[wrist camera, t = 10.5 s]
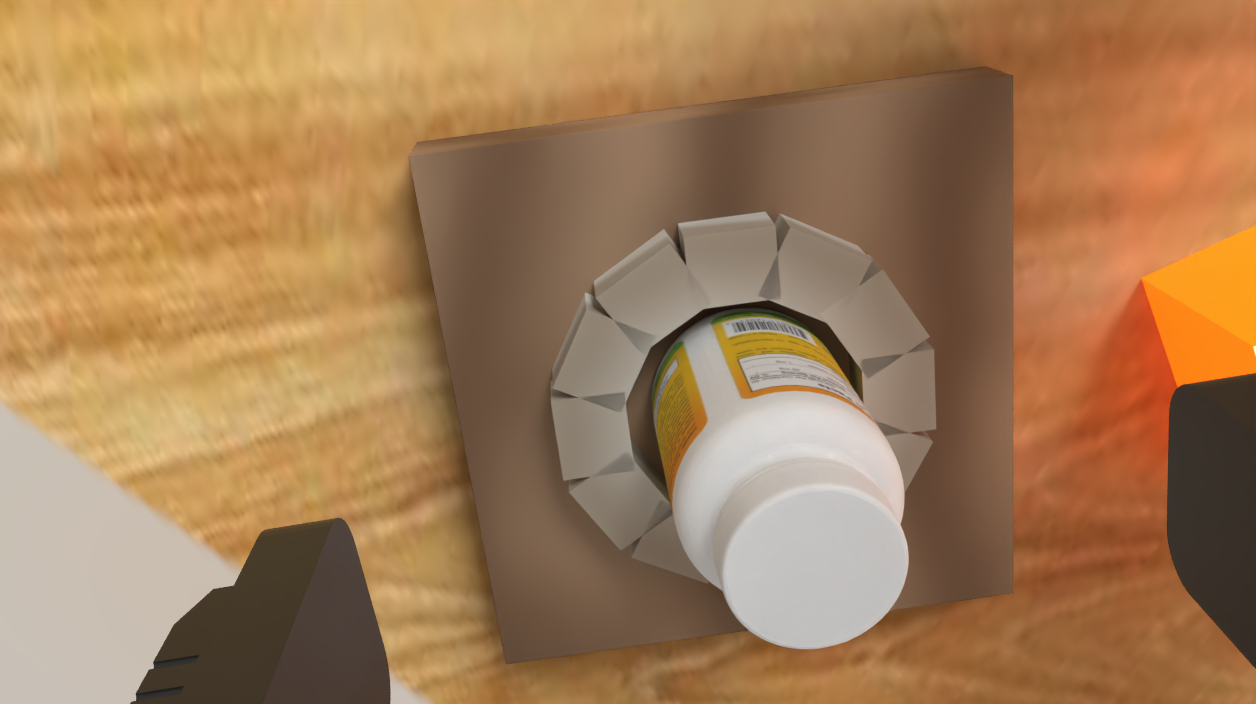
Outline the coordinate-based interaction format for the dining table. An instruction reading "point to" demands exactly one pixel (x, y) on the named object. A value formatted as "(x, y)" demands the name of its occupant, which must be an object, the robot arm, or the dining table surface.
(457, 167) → the stone ring base
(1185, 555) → the robot arm
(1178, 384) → the orange juice
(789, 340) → the supplement bottle
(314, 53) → the dining table surface
